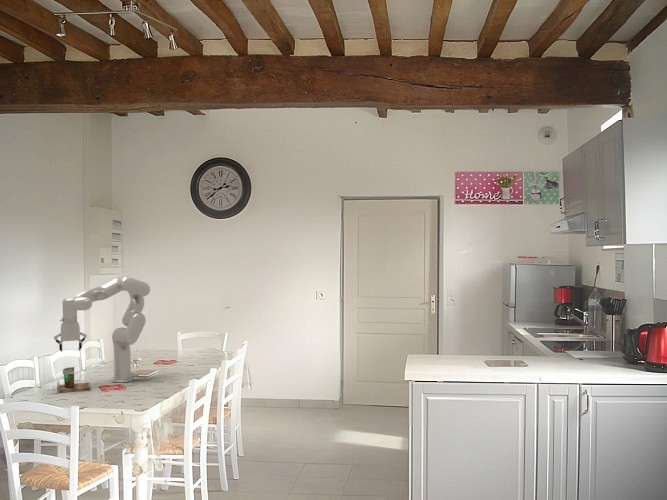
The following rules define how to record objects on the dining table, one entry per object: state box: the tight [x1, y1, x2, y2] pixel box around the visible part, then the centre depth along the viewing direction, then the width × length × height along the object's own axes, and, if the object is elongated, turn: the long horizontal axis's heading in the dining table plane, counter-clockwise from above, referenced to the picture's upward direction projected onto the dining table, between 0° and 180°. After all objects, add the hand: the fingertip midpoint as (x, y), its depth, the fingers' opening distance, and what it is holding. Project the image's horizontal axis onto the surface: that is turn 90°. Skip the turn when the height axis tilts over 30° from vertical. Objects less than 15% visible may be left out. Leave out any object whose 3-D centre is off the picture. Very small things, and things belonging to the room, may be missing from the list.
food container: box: [62, 366, 75, 388], centre depth 392 cm, size 12×6×10 cm, turn 20°
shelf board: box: [56, 381, 91, 394], centre depth 393 cm, size 17×16×4 cm
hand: (70, 350), depth 393 cm, fingers open, 9 cm apart
